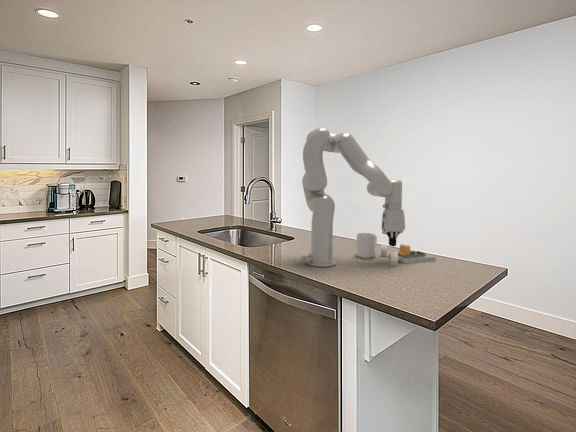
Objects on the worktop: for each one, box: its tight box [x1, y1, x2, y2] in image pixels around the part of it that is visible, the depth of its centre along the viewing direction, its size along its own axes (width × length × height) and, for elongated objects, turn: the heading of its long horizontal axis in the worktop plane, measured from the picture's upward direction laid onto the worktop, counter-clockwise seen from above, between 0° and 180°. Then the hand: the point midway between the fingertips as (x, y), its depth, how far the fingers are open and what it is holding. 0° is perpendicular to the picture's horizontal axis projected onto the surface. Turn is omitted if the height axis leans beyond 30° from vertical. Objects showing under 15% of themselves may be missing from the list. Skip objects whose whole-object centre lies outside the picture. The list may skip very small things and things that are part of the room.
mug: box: [355, 232, 378, 259], centre depth 181 cm, size 12×9×11 cm
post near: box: [390, 251, 399, 268], centre depth 163 cm, size 3×3×6 cm
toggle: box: [398, 243, 411, 256], centre depth 174 cm, size 3×4×5 cm
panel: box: [387, 250, 437, 265], centre depth 175 cm, size 18×12×3 cm, turn 108°
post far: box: [380, 243, 388, 258], centre depth 182 cm, size 3×3×6 cm
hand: (392, 245), depth 171 cm, fingers closed
